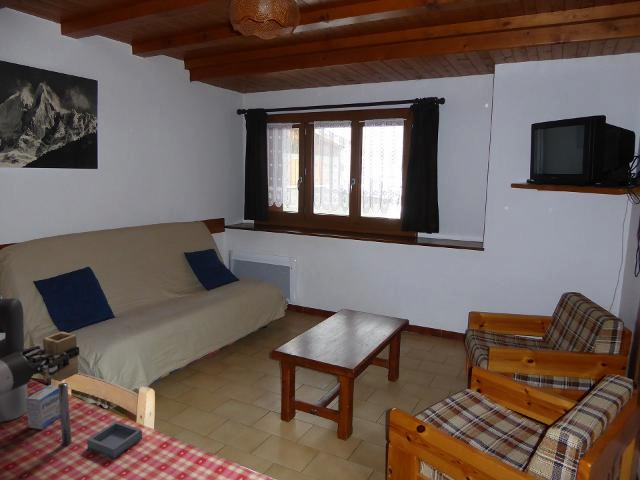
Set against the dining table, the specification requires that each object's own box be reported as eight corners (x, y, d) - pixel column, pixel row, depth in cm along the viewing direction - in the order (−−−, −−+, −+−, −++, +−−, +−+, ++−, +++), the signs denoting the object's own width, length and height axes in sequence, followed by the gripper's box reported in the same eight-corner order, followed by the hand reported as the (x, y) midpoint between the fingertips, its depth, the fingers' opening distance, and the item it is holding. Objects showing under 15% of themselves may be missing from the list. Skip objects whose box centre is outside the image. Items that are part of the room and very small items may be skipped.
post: (61, 442, 115) (57, 384, 112) (70, 439, 116) (66, 382, 114) (63, 446, 114) (58, 387, 111) (71, 443, 115) (68, 385, 112)
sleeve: (45, 377, 110) (42, 338, 109) (64, 368, 115) (61, 331, 113) (60, 381, 109) (57, 342, 107) (78, 373, 113) (76, 335, 111)
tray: (87, 448, 113) (87, 439, 113) (116, 429, 121) (116, 421, 121) (114, 458, 110) (113, 449, 109) (142, 438, 118) (141, 430, 117)
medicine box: (42, 430, 120) (39, 400, 118) (27, 427, 121) (25, 398, 119) (64, 414, 128) (62, 386, 126) (50, 412, 128) (48, 384, 127)
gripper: (20, 367, 94) (90, 339, 110) (-23, 353, 100) (49, 328, 115) (23, 400, 96) (91, 368, 111) (-20, 385, 101) (51, 356, 117)
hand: (70, 348), depth 113 cm, fingers closed on sleeve, 5 cm apart
